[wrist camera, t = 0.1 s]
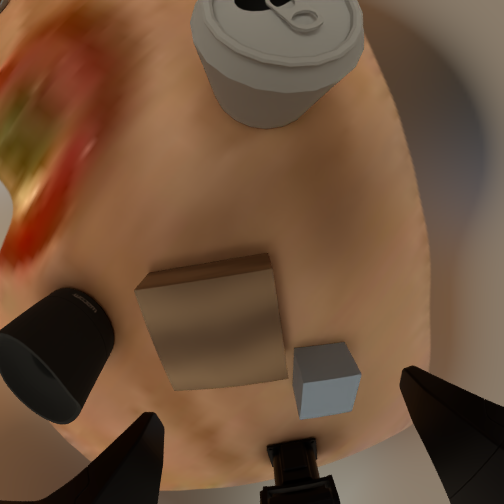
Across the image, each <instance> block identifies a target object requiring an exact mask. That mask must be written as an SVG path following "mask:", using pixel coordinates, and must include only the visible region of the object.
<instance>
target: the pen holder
mask: <svg viewBox="0 0 504 504" xmlns="http://www.w3.org/2000/svg"><path fill="white" fill-rule="evenodd" d="M113 344H114V335H113V331H112V327H111V324H110V322H109V320H108V318H107V316H106V314H105V313H104V311H103V310H102V309H101V307H100V306H99V305H98V304H97V303H96V302H95V301H94V300H93V299H92V298H90V297H89V296H88V295H86V294H84V293H82V292H80V291H78V290H75V289H71V288H62V289H59V290H56V291H54V292H53V293H51V294H50V295H48V296H47V297H45V298H44V299H42V300H41V301H39V302H38V303H36V304H35V305H33V306H32V307H31V308H29V309H28V310H26V311H25V312H24V313H22V314H21V315H20V316H18V317H17V318H15V319H14V320H13V321H11V322H10V323H9V324H8V325H6V326H5V327H4V328H2V329H1V330H0V374H1V376H2V377H3V380H4V381H5V383H6V384H7V386H8V387H9V388H10V390H11V391H12V392H13V393H14V394H15V395H16V396H17V397H18V399H19V400H20V401H22V402H23V403H24V404H25V405H26V406H27V407H28V408H30V409H31V410H32V411H33V412H35V413H36V414H38V415H39V416H41V417H43V418H45V419H46V420H49V421H51V422H53V423H56V424H69V423H71V422H72V421H74V420H75V419H76V418H77V417H78V415H79V414H80V412H81V410H82V408H83V406H84V404H85V402H86V400H87V398H88V396H89V394H90V392H91V390H92V388H93V386H94V384H95V382H96V380H97V378H98V376H99V374H100V373H101V371H102V369H103V367H104V365H105V363H106V361H107V359H108V357H109V355H110V353H111V351H112V349H113Z"/></svg>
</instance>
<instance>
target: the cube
mask: <svg viewBox="0 0 504 504" xmlns="http://www.w3.org/2000/svg"><path fill="white" fill-rule="evenodd" d="M360 378H361V372H360V370H359V368H358V366H357V364H356V363H355V361H354V359H353V357H352V355H351V353H350V351H349V349H348V347H347V346H346V344H345V342H341V343H334V344H326V345H318V346H309V347H300V348H294V364H293V390H294V394H295V399H296V404H297V409H298V414H299V418H300V420H302V419H309V418H316V417H323V416H329V415H334V414H340V413H345V412H350V411H352V408H353V405H354V401H355V398H356V394H357V390H358V386H359V382H360Z"/></svg>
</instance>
